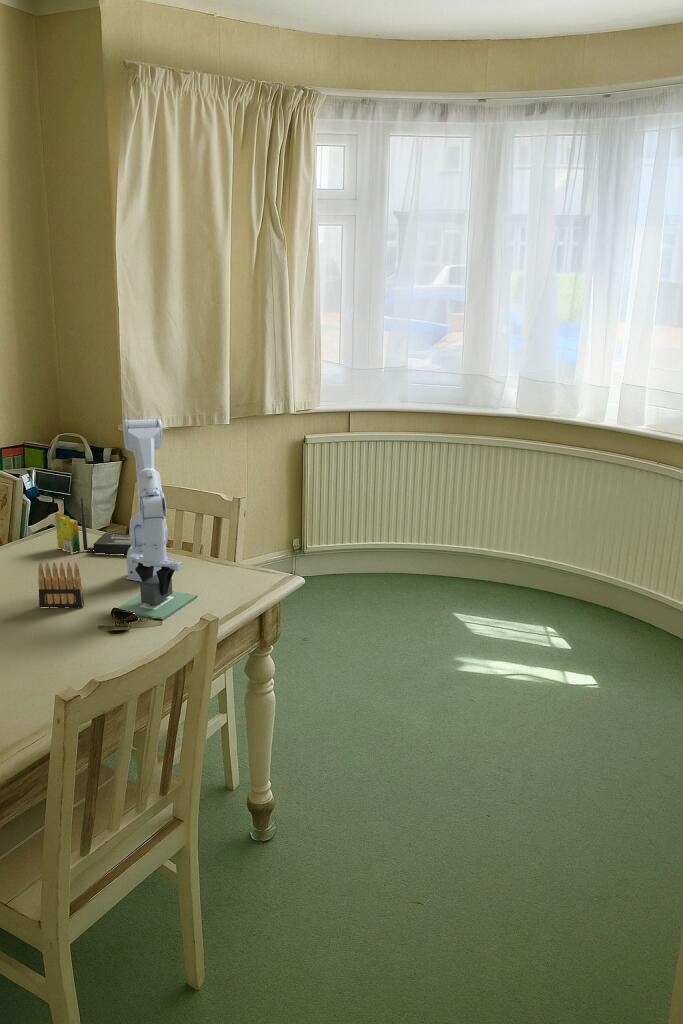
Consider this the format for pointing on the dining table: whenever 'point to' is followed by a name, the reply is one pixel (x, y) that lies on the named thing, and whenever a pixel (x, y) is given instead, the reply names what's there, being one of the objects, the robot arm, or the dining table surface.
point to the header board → (159, 605)
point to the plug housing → (153, 591)
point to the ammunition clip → (60, 587)
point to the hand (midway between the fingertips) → (156, 592)
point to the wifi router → (106, 541)
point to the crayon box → (67, 533)
